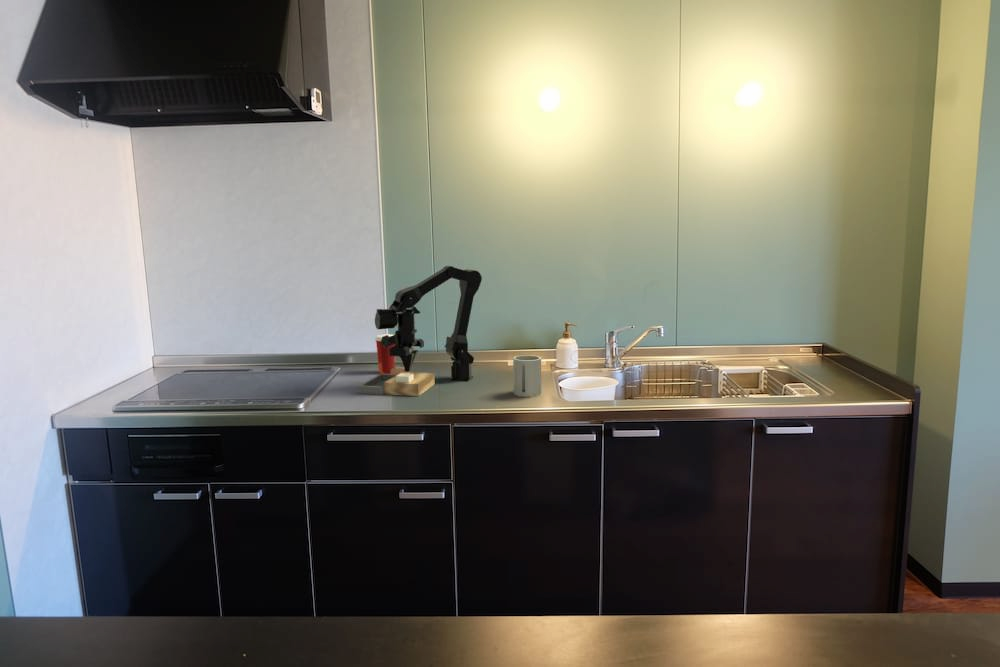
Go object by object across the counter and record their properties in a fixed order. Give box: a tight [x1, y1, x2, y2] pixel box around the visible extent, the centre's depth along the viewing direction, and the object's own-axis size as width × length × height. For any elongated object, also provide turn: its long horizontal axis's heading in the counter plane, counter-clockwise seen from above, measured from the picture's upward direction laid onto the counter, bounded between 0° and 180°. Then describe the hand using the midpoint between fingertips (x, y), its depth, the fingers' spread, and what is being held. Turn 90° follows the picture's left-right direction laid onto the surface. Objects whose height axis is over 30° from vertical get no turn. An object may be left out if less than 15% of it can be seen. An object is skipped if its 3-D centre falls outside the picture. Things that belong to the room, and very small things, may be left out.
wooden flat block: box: [384, 371, 436, 397], centre depth 233 cm, size 12×16×4 cm
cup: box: [512, 354, 542, 398], centre depth 226 cm, size 9×9×12 cm
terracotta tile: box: [391, 366, 408, 375], centre depth 238 cm, size 4×4×2 cm
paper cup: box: [375, 333, 396, 374], centre depth 258 cm, size 8×8×14 cm
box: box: [357, 373, 396, 396], centre depth 236 cm, size 9×18×2 cm, turn 166°
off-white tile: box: [396, 373, 414, 383], centre depth 228 cm, size 4×4×2 cm
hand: (407, 371), depth 237 cm, fingers closed, pressing on terracotta tile
